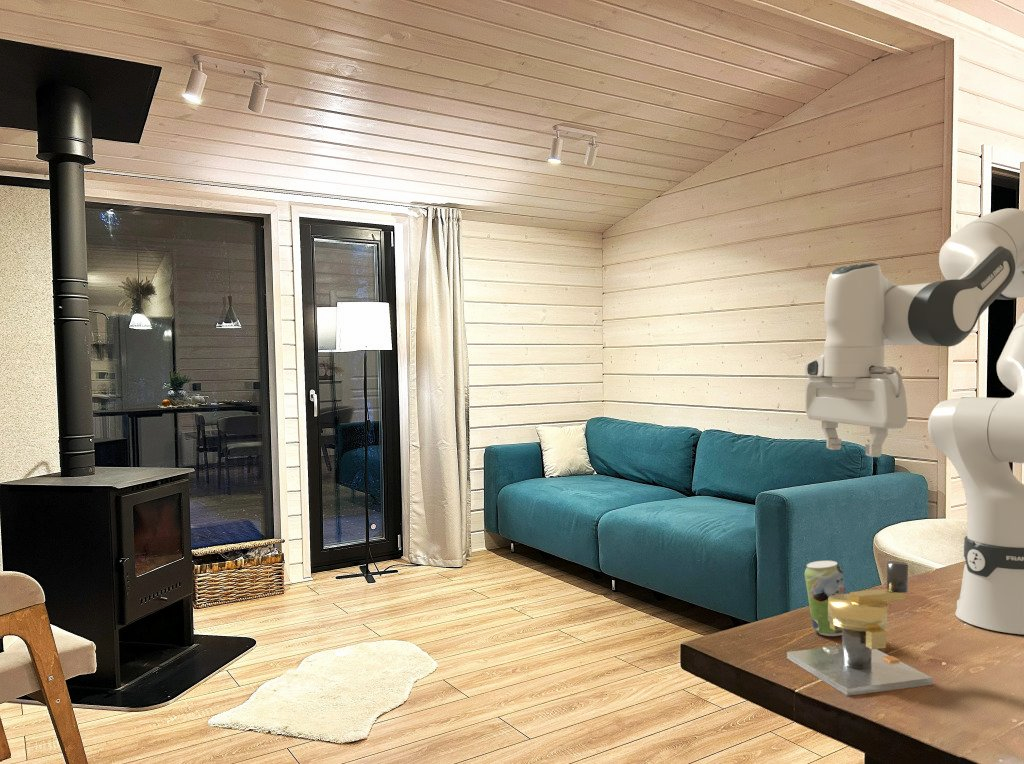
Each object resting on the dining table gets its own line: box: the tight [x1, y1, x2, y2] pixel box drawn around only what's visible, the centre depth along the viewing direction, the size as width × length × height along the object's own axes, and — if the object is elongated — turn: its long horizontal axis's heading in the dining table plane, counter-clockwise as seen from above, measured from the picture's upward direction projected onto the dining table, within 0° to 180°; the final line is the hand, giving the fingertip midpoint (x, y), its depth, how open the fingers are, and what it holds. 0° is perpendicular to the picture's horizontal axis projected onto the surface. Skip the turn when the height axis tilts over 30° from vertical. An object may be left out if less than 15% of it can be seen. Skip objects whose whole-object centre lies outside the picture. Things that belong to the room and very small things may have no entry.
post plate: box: [786, 628, 933, 697], centre depth 117 cm, size 14×14×7 cm
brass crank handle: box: [828, 560, 909, 650], centre depth 118 cm, size 9×12×10 cm
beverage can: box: [804, 559, 847, 637], centre depth 133 cm, size 6×7×12 cm
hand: (852, 452), depth 127 cm, fingers open, 8 cm apart
